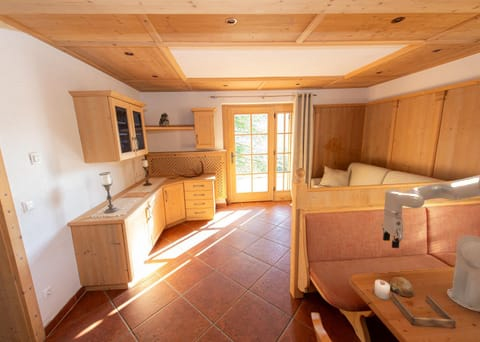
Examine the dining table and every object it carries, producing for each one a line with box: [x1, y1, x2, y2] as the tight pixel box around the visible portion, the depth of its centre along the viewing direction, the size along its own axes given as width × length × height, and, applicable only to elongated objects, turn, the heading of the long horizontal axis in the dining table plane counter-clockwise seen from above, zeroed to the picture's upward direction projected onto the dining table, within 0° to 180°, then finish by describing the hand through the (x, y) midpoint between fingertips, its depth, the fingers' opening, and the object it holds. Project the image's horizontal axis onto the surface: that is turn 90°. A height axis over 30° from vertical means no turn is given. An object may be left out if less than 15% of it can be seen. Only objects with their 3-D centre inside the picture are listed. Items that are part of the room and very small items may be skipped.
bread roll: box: [387, 276, 415, 298], centre depth 99 cm, size 10×10×8 cm
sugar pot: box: [374, 279, 391, 301], centre depth 96 cm, size 6×6×8 cm
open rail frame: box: [390, 292, 457, 329], centre depth 86 cm, size 16×14×3 cm
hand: (390, 243), depth 106 cm, fingers open, 6 cm apart
